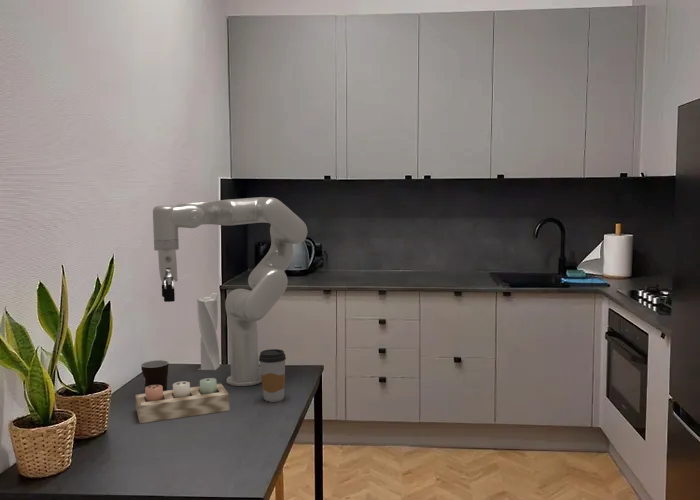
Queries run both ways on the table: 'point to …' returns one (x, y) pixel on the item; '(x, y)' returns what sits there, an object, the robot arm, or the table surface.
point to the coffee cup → (272, 374)
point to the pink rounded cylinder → (154, 393)
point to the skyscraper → (208, 332)
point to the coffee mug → (155, 373)
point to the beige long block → (182, 405)
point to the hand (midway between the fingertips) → (168, 299)
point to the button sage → (208, 386)
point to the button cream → (181, 389)
